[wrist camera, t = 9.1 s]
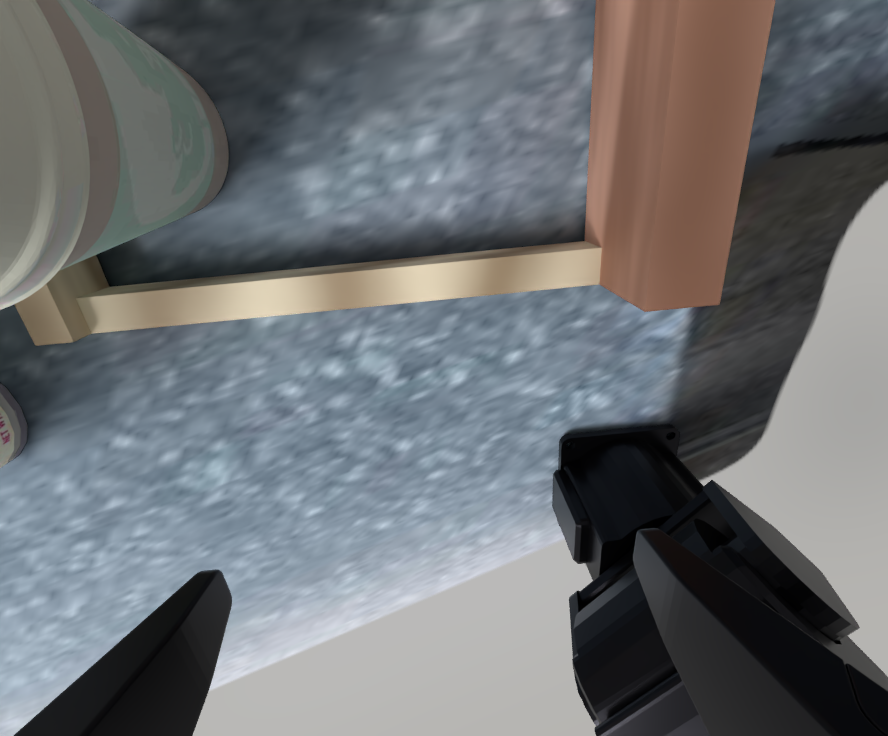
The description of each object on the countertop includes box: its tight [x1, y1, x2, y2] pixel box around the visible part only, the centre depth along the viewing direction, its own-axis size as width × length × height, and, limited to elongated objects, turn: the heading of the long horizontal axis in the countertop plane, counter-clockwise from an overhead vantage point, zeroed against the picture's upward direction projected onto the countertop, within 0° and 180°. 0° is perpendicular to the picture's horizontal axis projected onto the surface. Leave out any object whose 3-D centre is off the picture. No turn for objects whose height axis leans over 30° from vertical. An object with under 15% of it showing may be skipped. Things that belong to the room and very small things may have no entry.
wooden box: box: [14, 0, 775, 346], centre depth 14 cm, size 25×14×6 cm, turn 95°
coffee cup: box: [0, 0, 229, 310], centre depth 11 cm, size 8×8×12 cm
